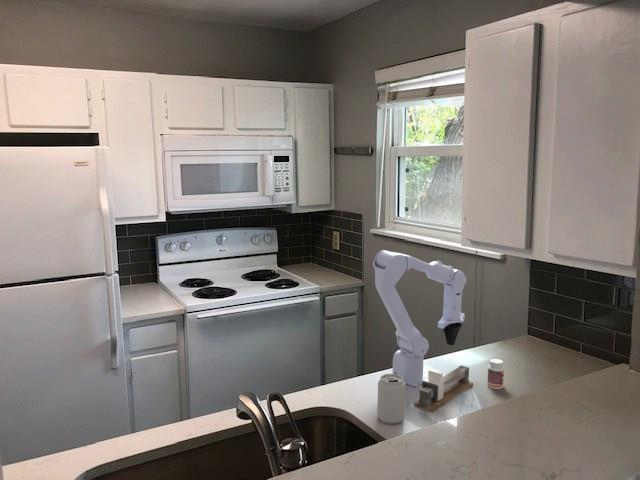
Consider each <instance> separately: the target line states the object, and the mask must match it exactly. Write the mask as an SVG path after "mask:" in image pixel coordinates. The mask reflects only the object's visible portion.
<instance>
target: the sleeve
mask: <svg viewBox="0 0 640 480" xmlns="http://www.w3.org/2000/svg"><path fill="white" fill-rule="evenodd" d="M427 372H428V373H427V375H428V376H427V378H428V379H426V380H424V381H426V382H429V383H433V384H436V385H438V401H439V400H440V399H442V398H443V384H444V382H442V378H443V376H444V375H443V373H444V372H442V371H439V370H436V369H432V368H430V369H428V371H427ZM433 397H434V396H433Z"/></svg>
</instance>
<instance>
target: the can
mask: <svg viewBox="0 0 640 480" xmlns="http://www.w3.org/2000/svg"><path fill="white" fill-rule="evenodd" d="M406 385H407V384H405V382H404V381H403V378H402V377H401V376H400V375H397V374H392V373H385V374H382V375H381V376H380V379H378V381H377V404H376V405H377V409H376V410H377V412H376V415H377V418H378V419H379V420H380V421H381V422H383V423H386V424H389V425H394V424H395V425H397V424H399V423H401V422H402V421H403V420H404V419H405V417H406V416H405V415H406V387H407V386H406Z"/></svg>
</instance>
